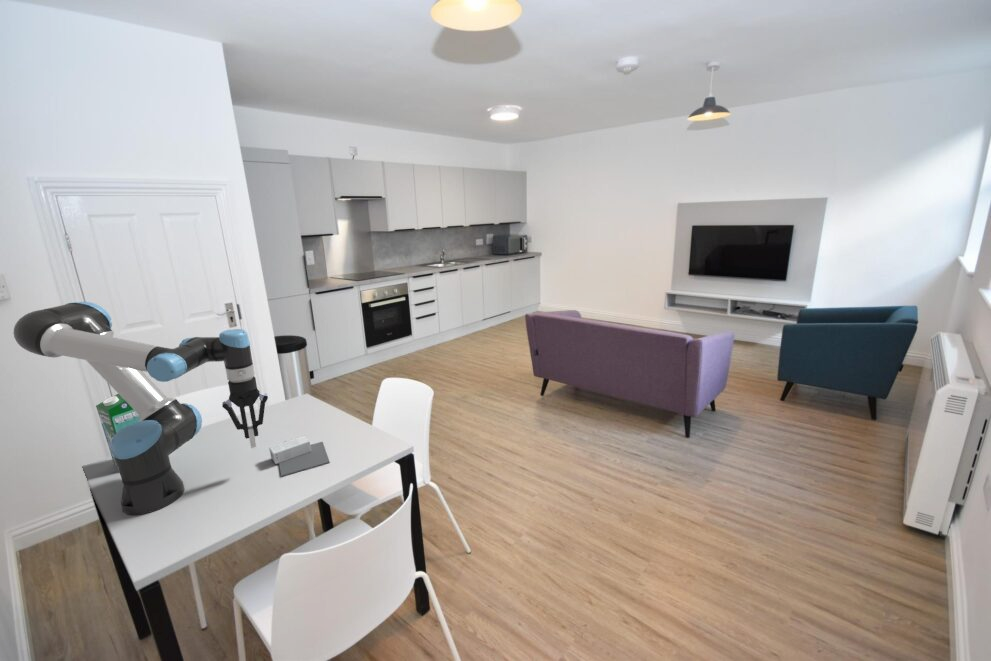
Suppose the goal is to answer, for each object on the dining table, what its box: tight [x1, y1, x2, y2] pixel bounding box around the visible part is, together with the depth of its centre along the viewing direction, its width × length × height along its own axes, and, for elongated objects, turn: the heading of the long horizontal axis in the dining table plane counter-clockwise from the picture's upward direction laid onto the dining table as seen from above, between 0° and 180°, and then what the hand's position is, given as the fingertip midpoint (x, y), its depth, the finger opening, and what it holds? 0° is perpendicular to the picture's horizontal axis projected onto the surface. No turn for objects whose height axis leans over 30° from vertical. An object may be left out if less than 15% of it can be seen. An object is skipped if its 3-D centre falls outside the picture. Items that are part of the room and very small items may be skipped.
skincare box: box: [268, 435, 311, 465], centre depth 152 cm, size 6×4×12 cm
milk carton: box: [95, 393, 139, 467], centre depth 150 cm, size 9×9×25 cm
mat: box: [278, 441, 331, 478], centre depth 150 cm, size 15×16×1 cm
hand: (253, 445), depth 142 cm, fingers closed
